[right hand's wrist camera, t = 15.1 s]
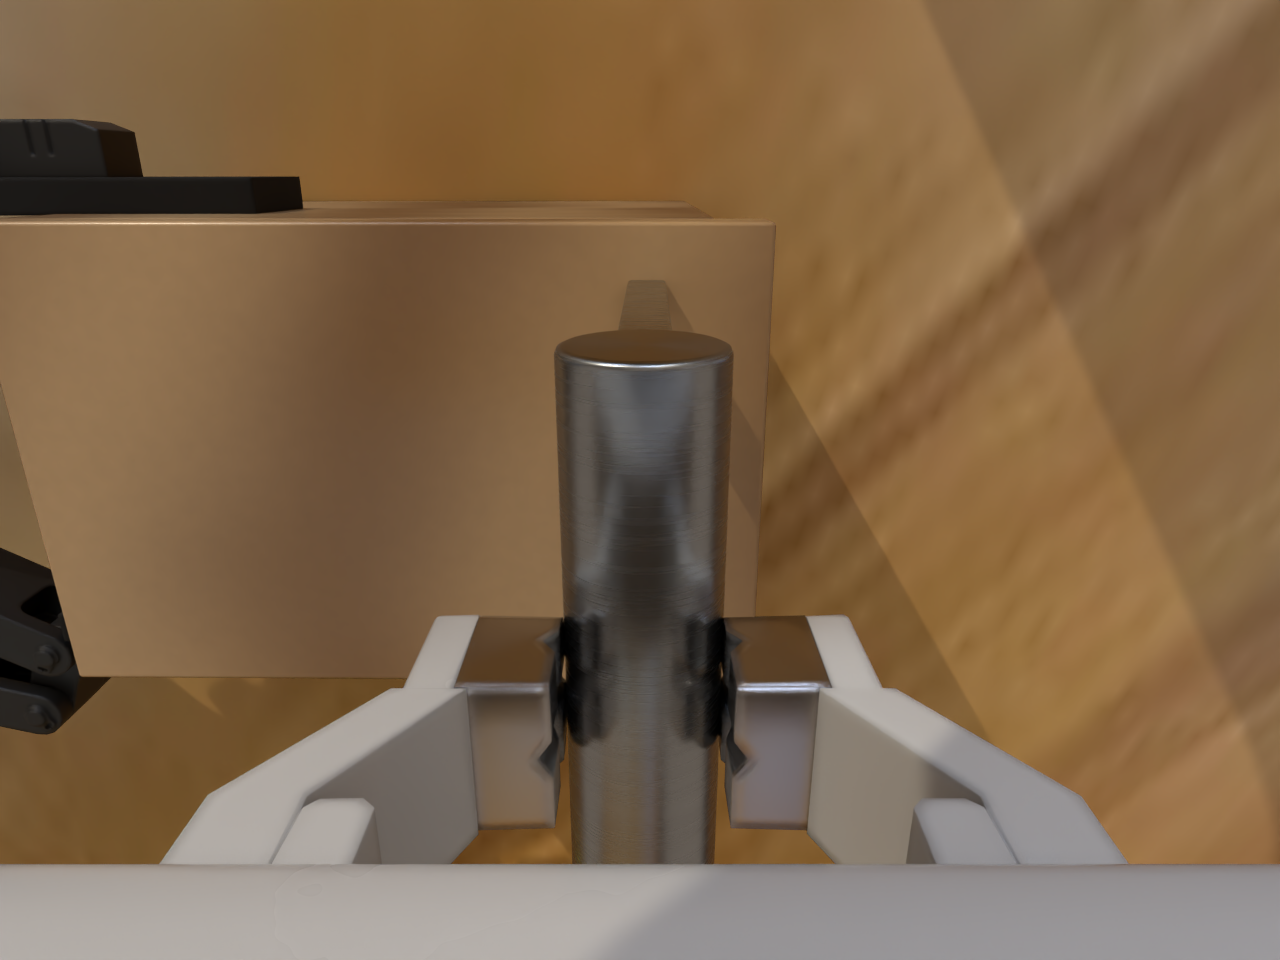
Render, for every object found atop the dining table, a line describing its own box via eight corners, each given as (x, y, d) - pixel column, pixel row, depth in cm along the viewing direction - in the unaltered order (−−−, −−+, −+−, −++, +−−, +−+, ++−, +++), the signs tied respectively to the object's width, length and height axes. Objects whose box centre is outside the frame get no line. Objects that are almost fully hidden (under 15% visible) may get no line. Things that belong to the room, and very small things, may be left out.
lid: (768, 218, 16) (898, 270, 8) (747, 657, 19) (820, 1024, 11) (-5, 218, 16) (-699, 268, 8) (106, 653, 19) (-297, 1011, 11)
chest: (685, 201, 25) (714, 217, 16) (680, 498, 29) (702, 648, 20) (225, 201, 25) (-4, 217, 16) (273, 499, 28) (107, 652, 19)
